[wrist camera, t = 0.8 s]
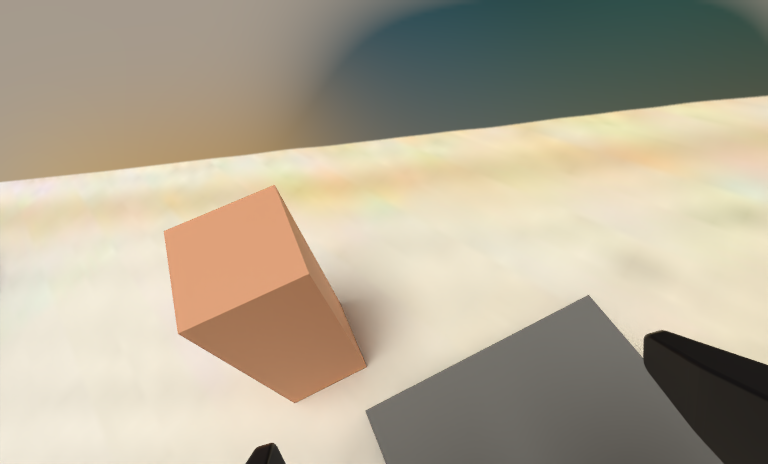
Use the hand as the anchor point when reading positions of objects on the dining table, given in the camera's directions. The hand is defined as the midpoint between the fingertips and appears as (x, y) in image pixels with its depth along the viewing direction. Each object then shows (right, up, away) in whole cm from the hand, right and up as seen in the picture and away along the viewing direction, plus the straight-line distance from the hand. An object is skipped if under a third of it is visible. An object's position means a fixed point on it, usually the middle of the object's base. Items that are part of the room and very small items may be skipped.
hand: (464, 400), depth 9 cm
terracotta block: (-6, -4, +17) cm, 19 cm away
